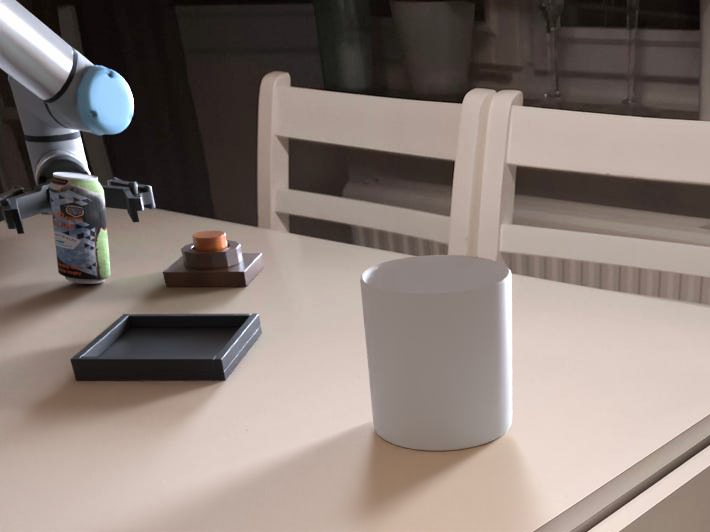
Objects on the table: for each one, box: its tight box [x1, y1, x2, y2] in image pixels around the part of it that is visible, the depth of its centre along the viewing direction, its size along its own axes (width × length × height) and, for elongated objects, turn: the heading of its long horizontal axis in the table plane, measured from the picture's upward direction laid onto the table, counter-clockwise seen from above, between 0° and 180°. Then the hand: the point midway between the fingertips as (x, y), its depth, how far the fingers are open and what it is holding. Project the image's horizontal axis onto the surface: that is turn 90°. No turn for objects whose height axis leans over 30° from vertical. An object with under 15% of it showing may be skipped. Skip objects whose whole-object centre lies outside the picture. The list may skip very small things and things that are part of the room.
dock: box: [70, 313, 263, 381], centre depth 100 cm, size 15×15×2 cm
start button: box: [191, 230, 228, 251], centre depth 122 cm, size 4×4×2 cm
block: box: [162, 239, 265, 288], centre depth 124 cm, size 10×9×4 cm
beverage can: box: [49, 172, 112, 285], centre depth 121 cm, size 6×7×12 cm
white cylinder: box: [359, 254, 513, 452], centre depth 81 cm, size 12×12×12 cm
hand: (76, 215), depth 122 cm, fingers open, 13 cm apart
